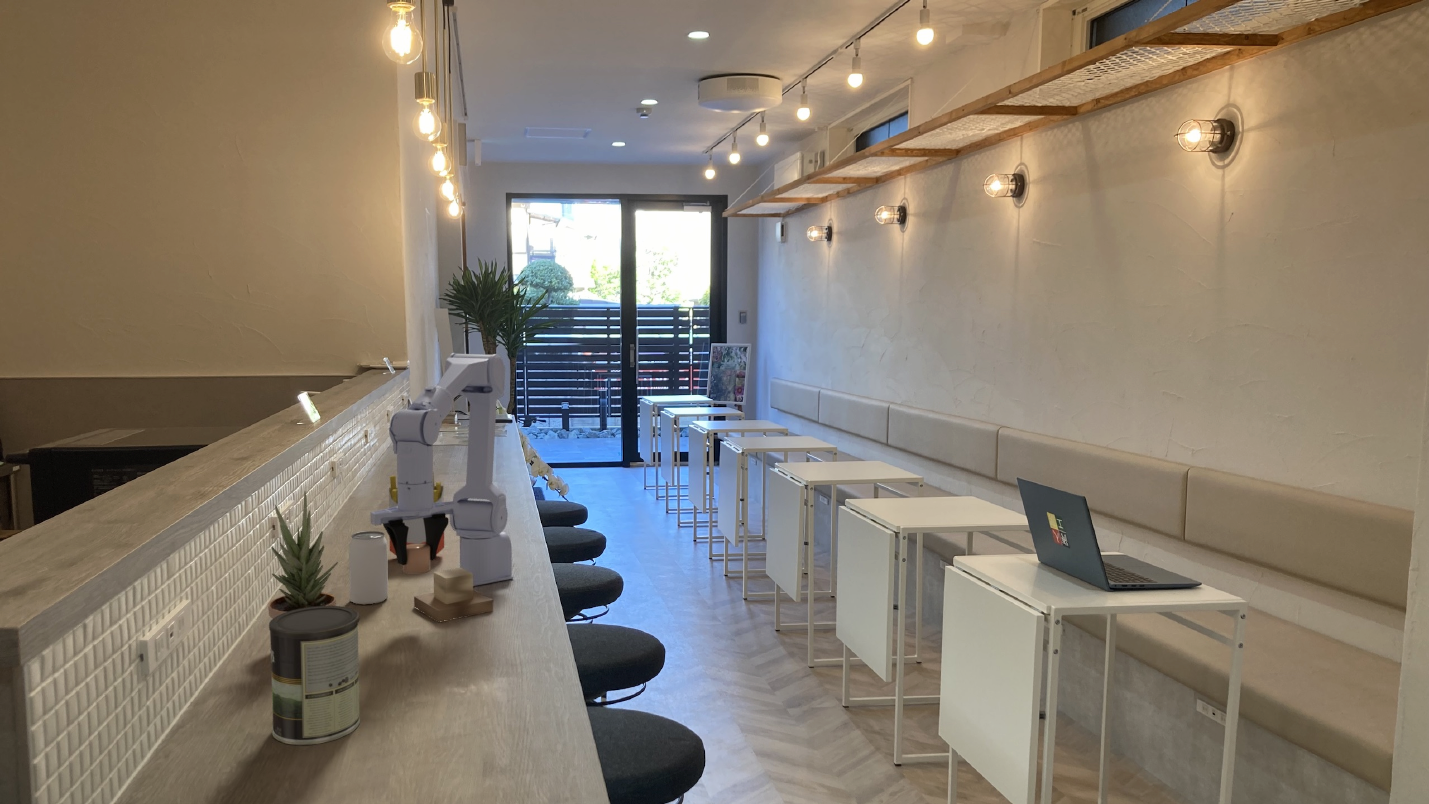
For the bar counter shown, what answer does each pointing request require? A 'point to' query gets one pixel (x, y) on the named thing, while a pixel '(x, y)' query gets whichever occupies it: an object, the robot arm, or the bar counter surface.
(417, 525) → the french fries container
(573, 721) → the bar counter surface
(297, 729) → the coffee can
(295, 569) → the potted plant
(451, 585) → the block
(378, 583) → the can
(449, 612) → the board
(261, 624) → the bar counter surface
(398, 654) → the bar counter surface
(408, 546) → the brown rounded piece
